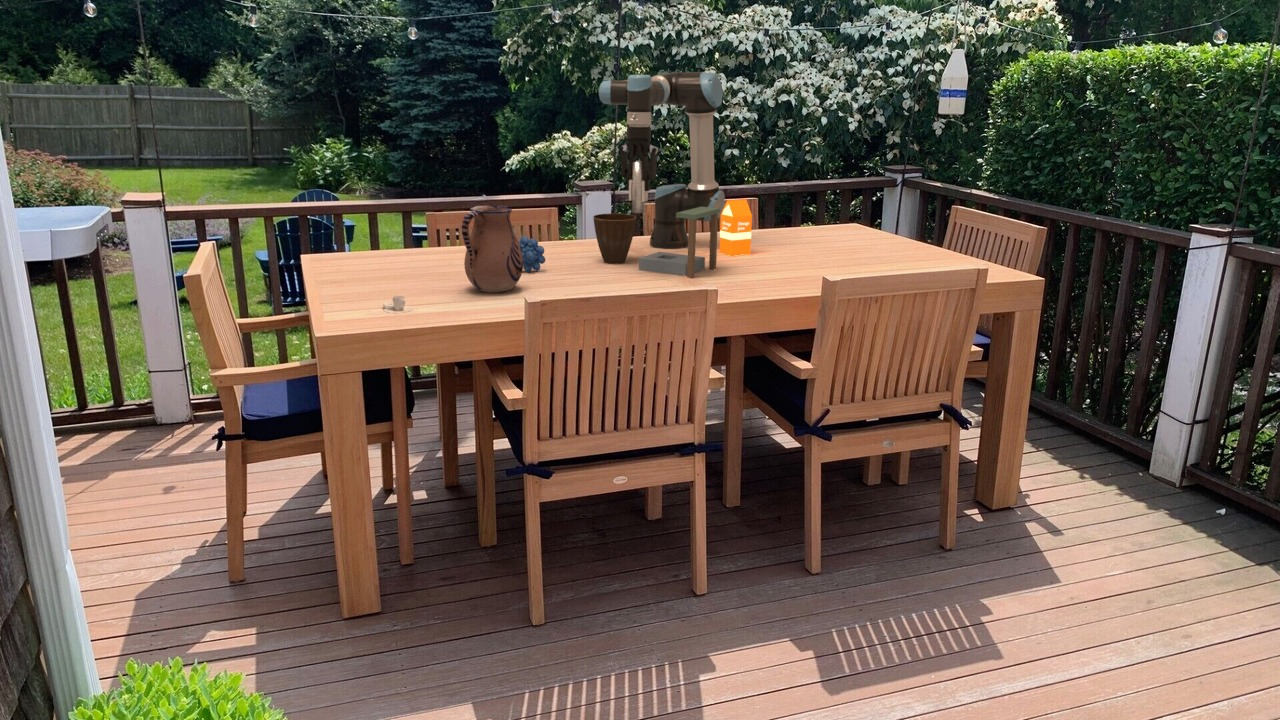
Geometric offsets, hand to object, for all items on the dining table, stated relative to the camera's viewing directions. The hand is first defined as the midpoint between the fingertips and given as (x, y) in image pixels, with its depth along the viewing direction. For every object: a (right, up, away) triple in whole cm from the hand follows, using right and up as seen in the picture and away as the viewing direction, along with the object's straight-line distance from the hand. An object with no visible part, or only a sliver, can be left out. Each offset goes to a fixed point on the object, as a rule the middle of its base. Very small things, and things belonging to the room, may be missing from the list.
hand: (638, 200), depth 297 cm
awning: (+20, -22, +12) cm, 32 cm away
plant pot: (-8, -17, +28) cm, 34 cm away
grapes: (-36, -22, +9) cm, 44 cm away
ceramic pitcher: (-44, -31, -17) cm, 57 cm away
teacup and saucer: (-67, -37, -37) cm, 85 cm away
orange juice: (+36, -12, +45) cm, 59 cm away
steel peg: (0, -4, +1) cm, 4 cm away
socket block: (+11, -20, +17) cm, 29 cm away
